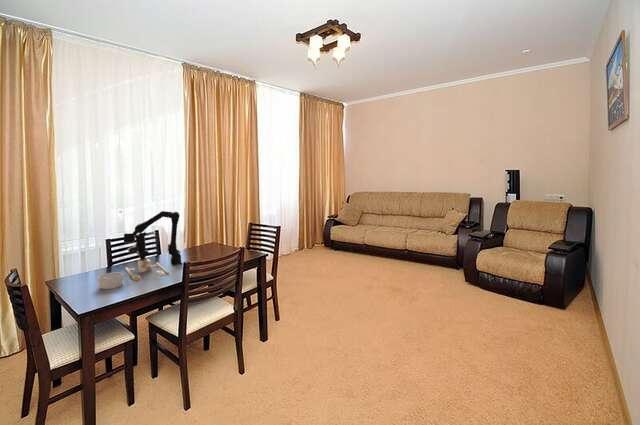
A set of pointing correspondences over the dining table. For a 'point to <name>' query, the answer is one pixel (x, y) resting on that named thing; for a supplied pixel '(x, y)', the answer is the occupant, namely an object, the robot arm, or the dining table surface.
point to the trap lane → (161, 273)
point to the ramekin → (110, 280)
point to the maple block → (144, 265)
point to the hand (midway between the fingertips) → (142, 262)
